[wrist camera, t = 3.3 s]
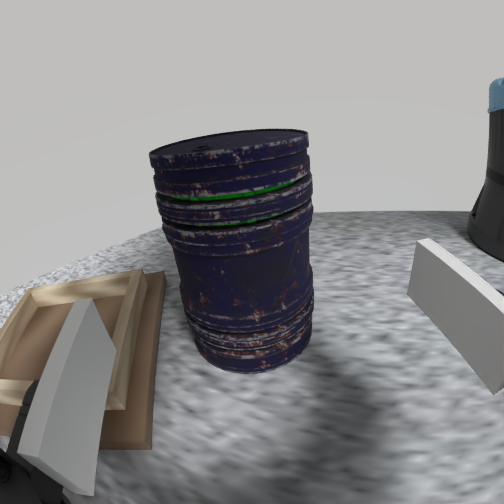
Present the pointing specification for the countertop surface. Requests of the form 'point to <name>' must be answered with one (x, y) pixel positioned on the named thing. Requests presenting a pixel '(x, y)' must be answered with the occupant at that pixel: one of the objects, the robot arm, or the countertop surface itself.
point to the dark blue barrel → (241, 243)
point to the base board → (121, 333)
